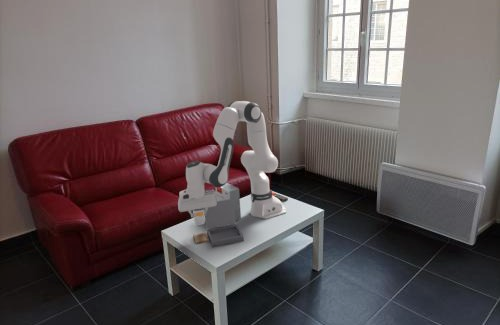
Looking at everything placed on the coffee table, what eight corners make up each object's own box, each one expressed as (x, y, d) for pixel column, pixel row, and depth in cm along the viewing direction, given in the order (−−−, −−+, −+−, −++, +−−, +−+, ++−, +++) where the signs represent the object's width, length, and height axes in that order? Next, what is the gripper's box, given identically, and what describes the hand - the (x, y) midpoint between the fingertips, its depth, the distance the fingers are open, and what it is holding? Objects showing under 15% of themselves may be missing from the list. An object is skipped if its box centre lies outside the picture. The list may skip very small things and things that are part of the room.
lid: (236, 223, 205) (235, 223, 206) (232, 198, 206) (232, 198, 207) (206, 229, 201) (206, 228, 202) (202, 203, 202) (202, 203, 203)
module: (202, 219, 198) (201, 205, 196) (205, 223, 192) (203, 210, 190) (193, 220, 197) (192, 207, 194) (195, 225, 191) (194, 211, 189)
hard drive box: (217, 214, 226) (214, 184, 220) (227, 210, 231) (224, 181, 225) (231, 222, 214) (228, 191, 208) (241, 218, 219) (239, 187, 213)
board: (206, 233, 203) (205, 232, 202) (209, 241, 195) (209, 239, 194) (193, 236, 201) (193, 234, 201) (196, 244, 193) (196, 242, 192)
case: (236, 229, 206) (236, 224, 205) (243, 240, 193) (243, 235, 192) (207, 235, 202) (207, 230, 201) (212, 247, 189) (212, 242, 188)
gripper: (214, 187, 195) (216, 210, 199) (176, 192, 190) (179, 216, 194) (217, 191, 189) (218, 215, 193) (177, 197, 184) (180, 221, 188)
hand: (198, 216), depth 193 cm, fingers closed on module, 5 cm apart
